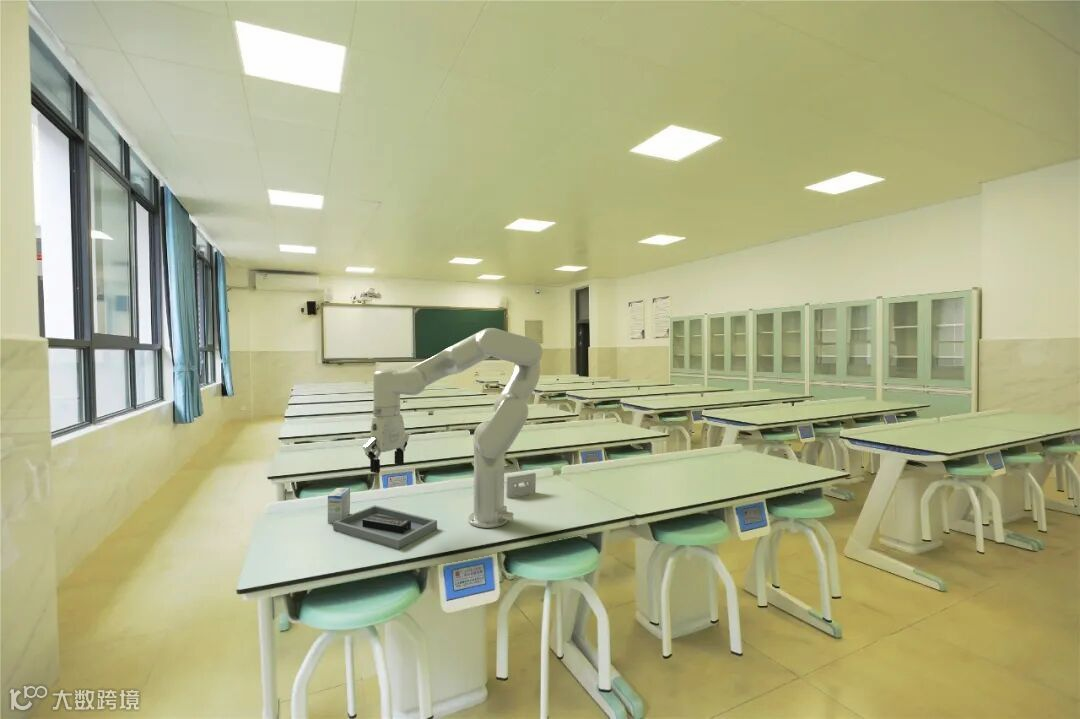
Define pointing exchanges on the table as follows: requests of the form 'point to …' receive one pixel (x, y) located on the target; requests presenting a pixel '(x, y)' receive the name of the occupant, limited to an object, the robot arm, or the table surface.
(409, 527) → the multiport hub
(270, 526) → the table surface
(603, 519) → the table surface
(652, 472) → the table surface
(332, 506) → the medicine box
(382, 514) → the tray
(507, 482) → the cassette
